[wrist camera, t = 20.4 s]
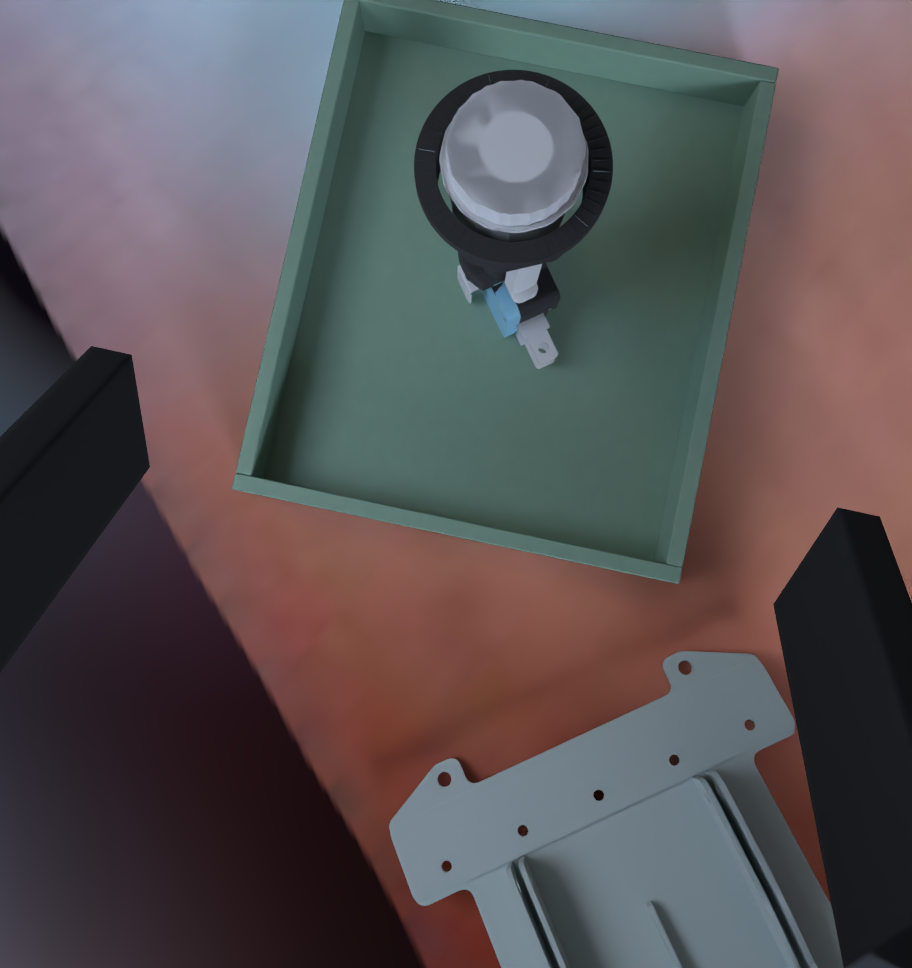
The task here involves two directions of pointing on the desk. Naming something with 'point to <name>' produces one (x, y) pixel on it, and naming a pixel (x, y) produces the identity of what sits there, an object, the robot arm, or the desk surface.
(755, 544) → the desk surface
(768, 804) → the metal bracket
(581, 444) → the tray
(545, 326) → the push button
